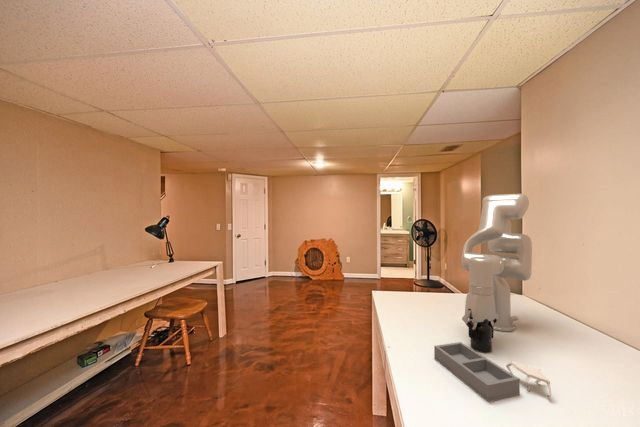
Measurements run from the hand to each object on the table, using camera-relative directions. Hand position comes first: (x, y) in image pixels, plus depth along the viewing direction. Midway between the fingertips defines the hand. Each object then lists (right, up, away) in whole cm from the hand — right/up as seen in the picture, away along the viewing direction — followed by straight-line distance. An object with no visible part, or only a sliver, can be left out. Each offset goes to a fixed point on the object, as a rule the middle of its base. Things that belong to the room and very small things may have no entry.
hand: (480, 337), depth 95 cm
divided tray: (-13, -4, -15) cm, 20 cm away
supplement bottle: (0, -5, 0) cm, 5 cm away
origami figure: (+1, -5, -20) cm, 21 cm away
